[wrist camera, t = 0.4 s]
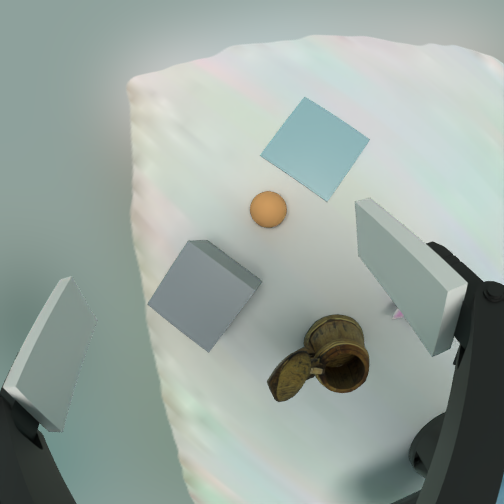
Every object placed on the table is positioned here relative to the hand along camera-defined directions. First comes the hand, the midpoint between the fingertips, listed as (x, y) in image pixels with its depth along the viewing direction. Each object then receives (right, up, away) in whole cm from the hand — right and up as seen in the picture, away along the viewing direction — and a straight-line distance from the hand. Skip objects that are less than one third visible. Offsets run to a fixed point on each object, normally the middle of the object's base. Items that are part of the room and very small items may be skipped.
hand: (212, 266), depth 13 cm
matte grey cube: (-4, -5, +34) cm, 35 cm away
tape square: (+11, +16, +31) cm, 37 cm away
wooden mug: (+12, -13, +33) cm, 37 cm away
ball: (+4, +6, +30) cm, 31 cm away
